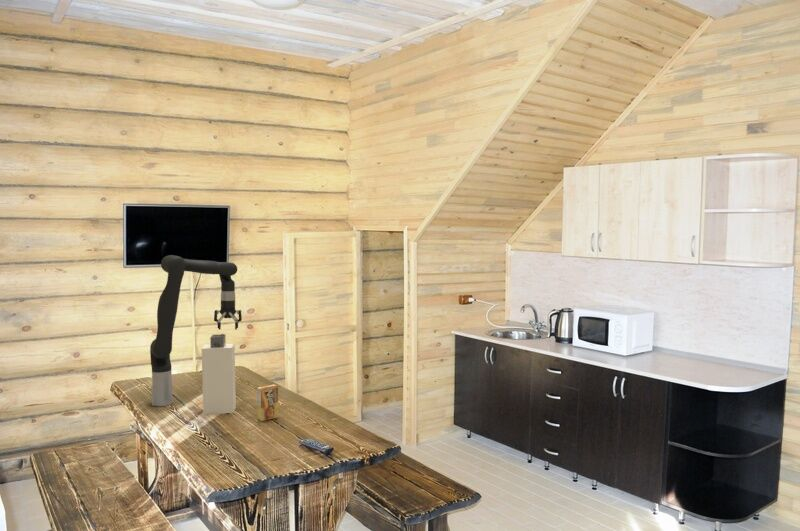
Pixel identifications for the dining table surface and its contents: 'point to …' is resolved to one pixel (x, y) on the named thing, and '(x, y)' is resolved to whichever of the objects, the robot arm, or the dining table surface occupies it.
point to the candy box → (267, 402)
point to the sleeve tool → (218, 341)
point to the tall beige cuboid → (218, 379)
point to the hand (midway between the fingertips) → (227, 329)
